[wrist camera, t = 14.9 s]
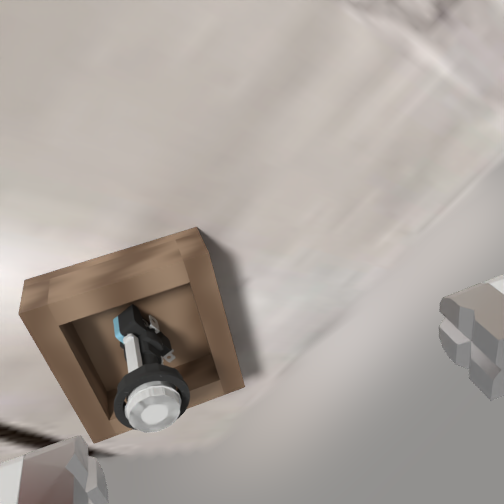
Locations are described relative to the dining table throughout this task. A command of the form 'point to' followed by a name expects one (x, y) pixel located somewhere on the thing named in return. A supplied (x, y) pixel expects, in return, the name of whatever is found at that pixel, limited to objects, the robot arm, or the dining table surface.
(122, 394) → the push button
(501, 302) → the robot arm
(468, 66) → the dining table surface
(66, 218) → the dining table surface
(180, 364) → the wooden tray
